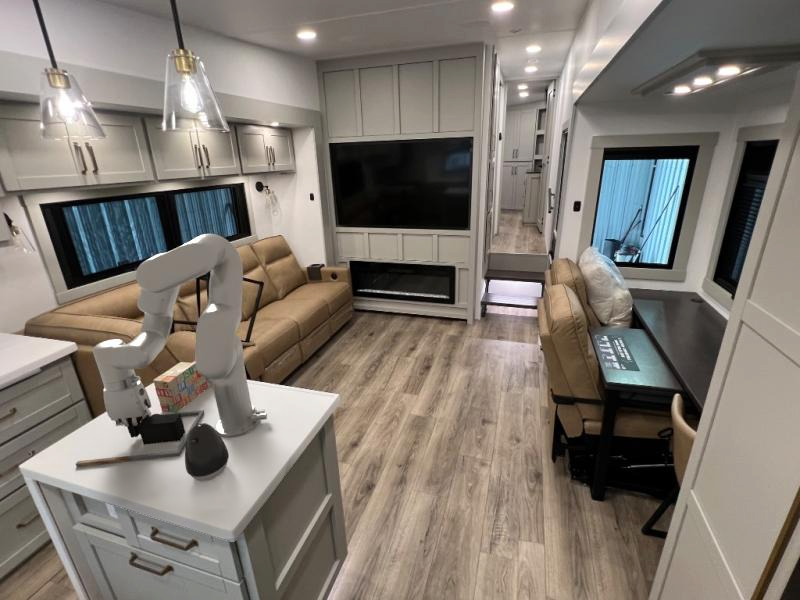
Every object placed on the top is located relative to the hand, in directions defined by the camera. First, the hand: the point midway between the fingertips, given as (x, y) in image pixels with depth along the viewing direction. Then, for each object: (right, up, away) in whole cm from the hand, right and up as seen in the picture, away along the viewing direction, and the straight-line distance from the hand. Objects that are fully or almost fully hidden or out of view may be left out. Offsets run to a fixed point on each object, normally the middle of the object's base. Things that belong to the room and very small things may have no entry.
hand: (136, 434), depth 115 cm
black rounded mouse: (+29, -6, -13) cm, 32 cm away
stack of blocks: (+4, +6, +23) cm, 24 cm away
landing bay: (+9, -1, +2) cm, 9 cm away
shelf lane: (-4, -2, 0) cm, 4 cm away
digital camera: (+8, -1, +1) cm, 9 cm away
